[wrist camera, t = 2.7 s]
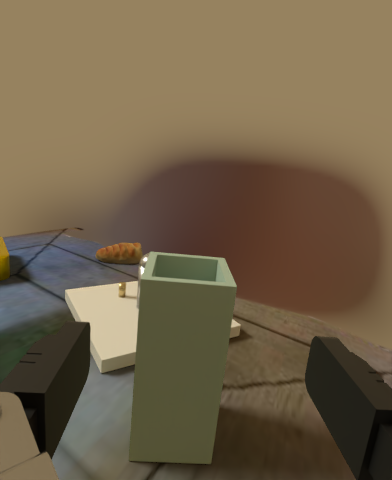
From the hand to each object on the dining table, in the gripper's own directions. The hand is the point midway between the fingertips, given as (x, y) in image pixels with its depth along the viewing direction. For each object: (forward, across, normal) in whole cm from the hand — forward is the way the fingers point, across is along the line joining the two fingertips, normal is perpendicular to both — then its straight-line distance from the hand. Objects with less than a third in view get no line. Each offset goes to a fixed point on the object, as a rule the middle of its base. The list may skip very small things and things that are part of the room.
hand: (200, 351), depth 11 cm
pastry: (+54, +12, +14) cm, 57 cm away
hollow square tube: (+12, 0, +15) cm, 19 cm away
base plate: (+30, +4, +14) cm, 34 cm away
